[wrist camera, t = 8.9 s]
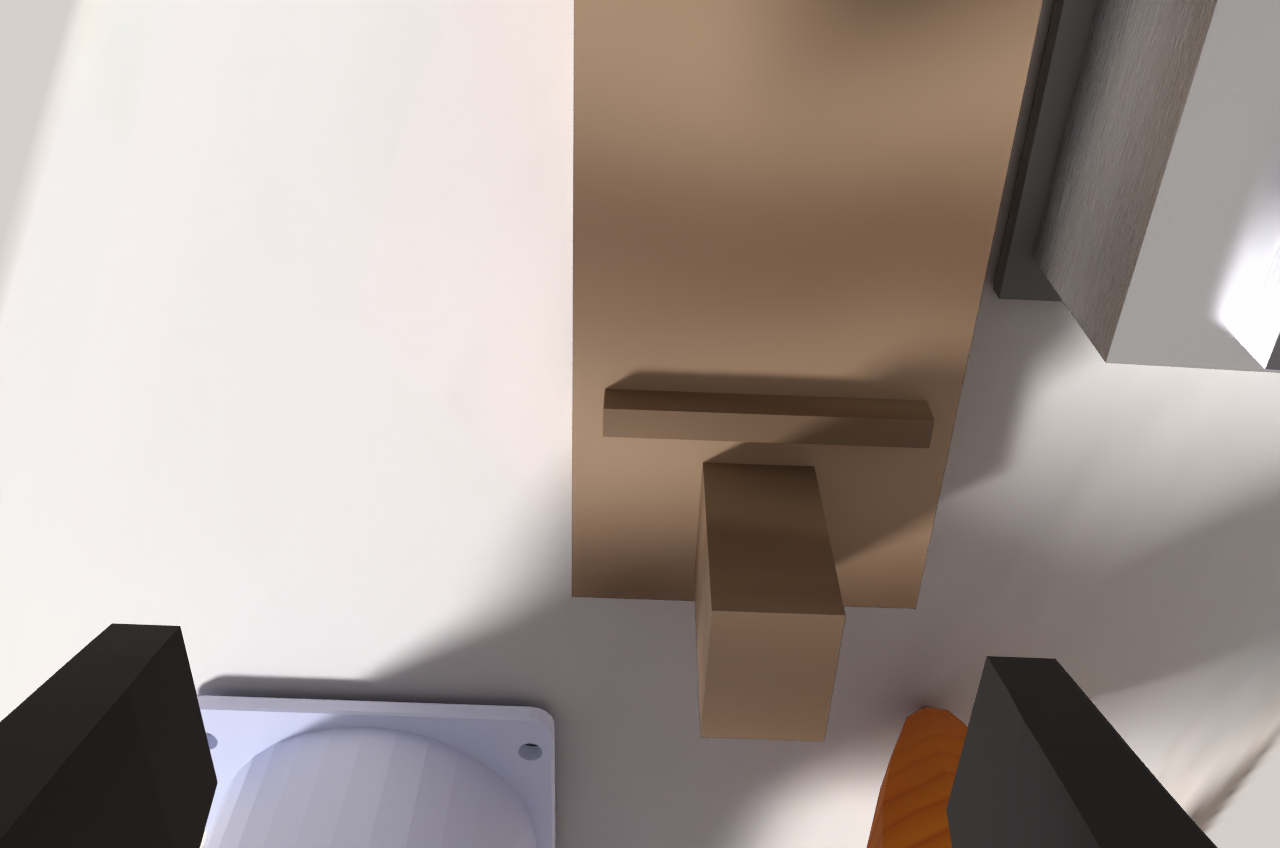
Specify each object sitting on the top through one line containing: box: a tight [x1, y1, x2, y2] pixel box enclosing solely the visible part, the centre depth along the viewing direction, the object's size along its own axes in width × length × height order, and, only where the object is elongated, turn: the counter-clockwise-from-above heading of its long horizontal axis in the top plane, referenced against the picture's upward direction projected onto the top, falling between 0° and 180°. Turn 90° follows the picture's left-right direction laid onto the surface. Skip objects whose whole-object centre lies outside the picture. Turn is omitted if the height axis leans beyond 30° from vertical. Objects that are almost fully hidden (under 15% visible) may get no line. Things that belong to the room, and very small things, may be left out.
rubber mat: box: [993, 0, 1099, 301], centre depth 18 cm, size 7×6×1 cm
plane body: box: [572, 0, 1043, 741], centre depth 16 cm, size 12×6×6 cm, turn 178°
